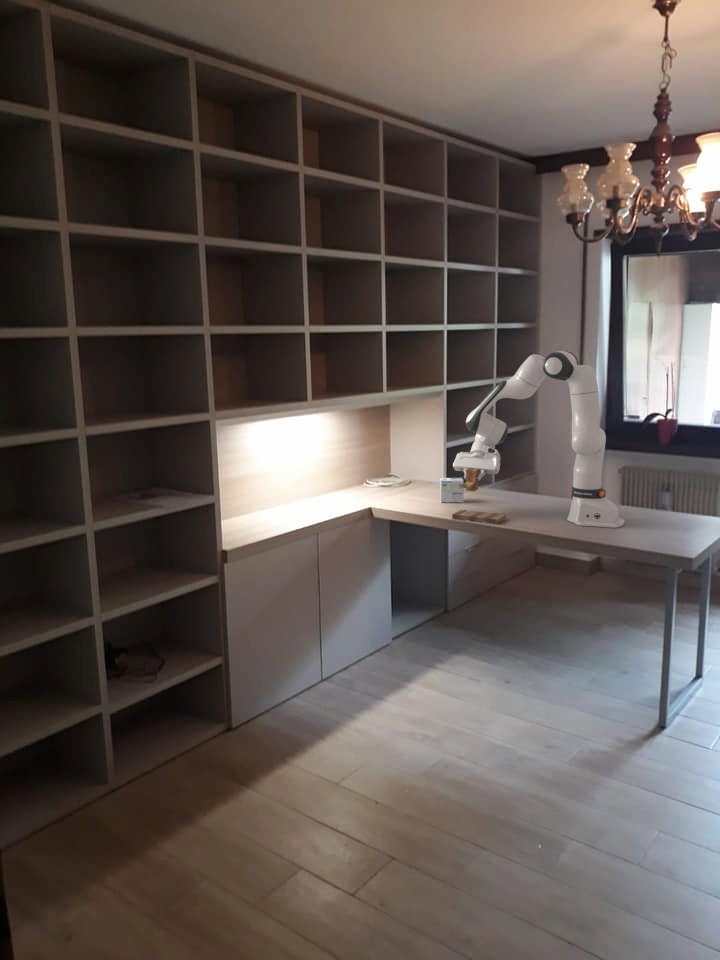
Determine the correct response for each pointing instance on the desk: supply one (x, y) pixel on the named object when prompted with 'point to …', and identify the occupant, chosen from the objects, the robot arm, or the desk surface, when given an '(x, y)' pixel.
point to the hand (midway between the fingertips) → (471, 479)
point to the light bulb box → (451, 490)
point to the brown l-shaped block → (471, 480)
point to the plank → (479, 516)
